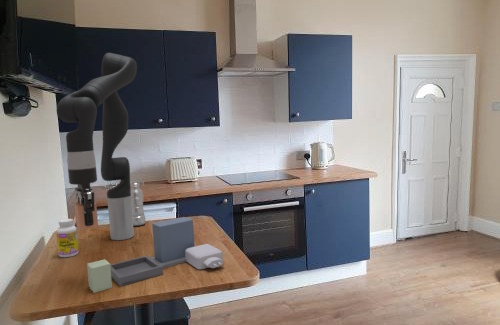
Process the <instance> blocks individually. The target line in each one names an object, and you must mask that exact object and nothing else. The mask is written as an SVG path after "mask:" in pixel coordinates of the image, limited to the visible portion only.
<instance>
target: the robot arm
mask: <svg viewBox="0 0 500 325" xmlns="http://www.w3.org/2000/svg"><path fill="white" fill-rule="evenodd" d="M101 60H102V61H101V70H100V71H101V76H98V77H95V78H93V79H91V80H89V81H88V82H87V83H86V84H85V85H84V86H82V88H79V90H76V91H74V92H72V93H69V94H68V95H65V96H64V97H62V98H61V99H60V100H59V102H58V103H57V105H56V108H55V109H56V110H55V111H56V115H57V117H58V119H60V120H61V121H63V123H78V126H77V128H76V129H74V130H71V131H68V132H67V133H66V136H65V139H66V140H65V142H66V150H67V151H66V155H67V159H66V162H67V172H68V175H67V176H68V183H69V184H70V185H73V186H74V185H77V187H75V189H74V190H75V196H76V203H80V205H81V206H83V213H84V219H85V225H86V226H91V225H93V213H92V212H93V211H95V208H94V202H95V191H94V190H93V188H91V184H93V183H96V182H98V175H97V163H96V155H95V151H94V138H93V136H94V135H93V134H94V131H95V125H96V119H97V114H98V111H97V109H98V107H99V106H100V105H102V124H101V125H102V151H101V161H100V176H101V178H102V180H103V181H105V182H113V181H119V183H118V184H117V185H116V186H114V187H112V188H109V189H108V190H107V191H106V197H107V210H108V211H107V212H108V221H109V222H108V223H109V234H110V239H111V240H112V241H122V240H123V241H124V240H128V239H130V238H133V237H134V236H135V232H134V231H135V230H134V229H135V228H134V225H133V216H132V204H131V189H132V187H131V166H130V162H129V159H128V158H127V157H125V156H120V157H119V156H118V157H113V155H114V152H115V150H116V149H117V147H118V146H119V145H120V143H121V142H122V140H124V138H125V136H126V135H127V133H128V130H129V113H128V109H127V108H126V106H125V104H124V103H123V101H122V99H121V98H120V96H119V94H118V91H119V90H120V89H122V88H123V87H125V86H127V85H129V84H131V83H132V82H133V81H134V79H135V78H136V75H137V71H138V70H137V69H138V67H137V66H138V64H137V62H136V60H135V59H134V58H132V57H130V56H126V55H121V54H118V53H113V52H106V53H105V54H104V55H103V57H102V59H101ZM87 205H90V208H87Z"/></svg>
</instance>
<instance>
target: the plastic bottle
mask: <svg viewBox="0 0 500 325" xmlns="http://www.w3.org/2000/svg"><path fill="white" fill-rule="evenodd" d="M130 188H131V204H132V216H133V227H134V226H135V227H137V226H138V227H139V226H142V225H145V223H146V215H145V211H144V210H145V209H144V191H143V190H142V189H141V188H140V182H139V181H136V182H130Z"/></svg>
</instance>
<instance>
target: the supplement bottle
mask: <svg viewBox="0 0 500 325" xmlns="http://www.w3.org/2000/svg"><path fill="white" fill-rule="evenodd" d="M58 225H59V227H58V228H57V229H56V238H57V239H56V240H57V252H58V257H60V258H71V257H74V256H76V255H78V254H79V239H78V238H79V237H78V228H77V226H75V225H74V219H73V218H65V219H61V220H59V221H58Z"/></svg>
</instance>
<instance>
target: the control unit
mask: <svg viewBox="0 0 500 325" xmlns="http://www.w3.org/2000/svg"><path fill="white" fill-rule="evenodd" d="M151 224H152V225H151V226H152V238H153V240H152V241H153V251H154V256H150V258H151V259H153V260H154V261H156V262H157V263H159V264H160V265H162V266H163V269H165V268H170V267H173V266H177V265H180V264H184V263H188V262H187V261H186V259H185V250H186V249H188V248H191V247H195V246H196V244H195V230H194V220H193V219H192V218H189V217H186V216H183V217H179V218H173V219H172V218H171V219H168V220H162V221H158V222H157V221H156V222H153V223H151Z"/></svg>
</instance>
